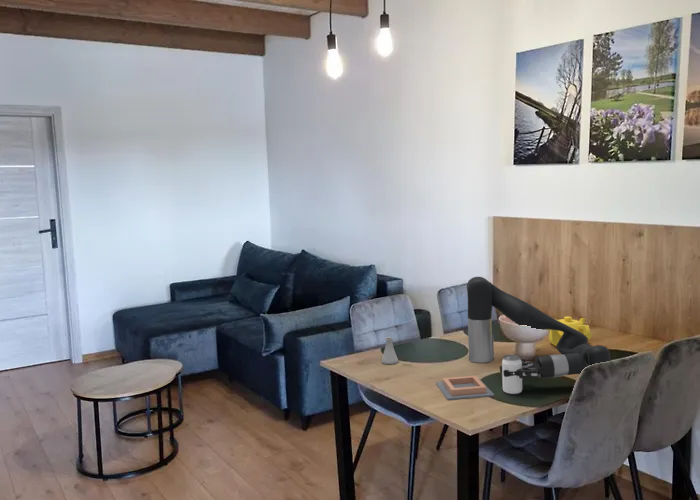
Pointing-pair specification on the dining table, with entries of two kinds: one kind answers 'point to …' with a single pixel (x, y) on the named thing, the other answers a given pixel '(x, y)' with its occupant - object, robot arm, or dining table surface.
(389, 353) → the flask
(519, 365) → the can
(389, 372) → the dining table surface
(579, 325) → the teapot
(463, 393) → the tray
